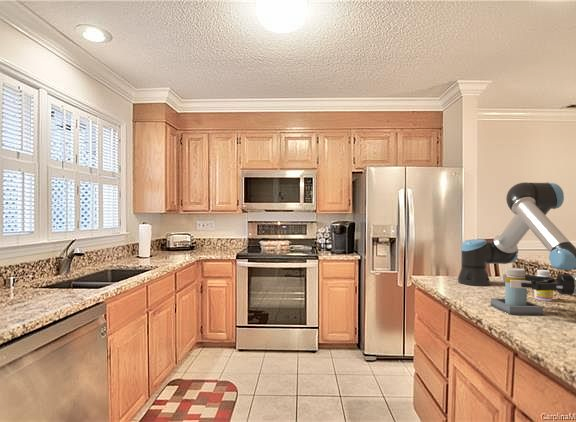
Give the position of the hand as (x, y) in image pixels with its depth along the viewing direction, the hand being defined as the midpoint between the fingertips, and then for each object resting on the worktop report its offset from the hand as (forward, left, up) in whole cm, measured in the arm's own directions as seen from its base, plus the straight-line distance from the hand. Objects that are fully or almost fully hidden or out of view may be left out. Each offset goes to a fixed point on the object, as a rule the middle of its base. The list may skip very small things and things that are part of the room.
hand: (506, 280), depth 139 cm
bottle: (+1, +3, -11) cm, 11 cm away
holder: (+1, +3, -11) cm, 12 cm away
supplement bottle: (-16, +26, -12) cm, 33 cm away
